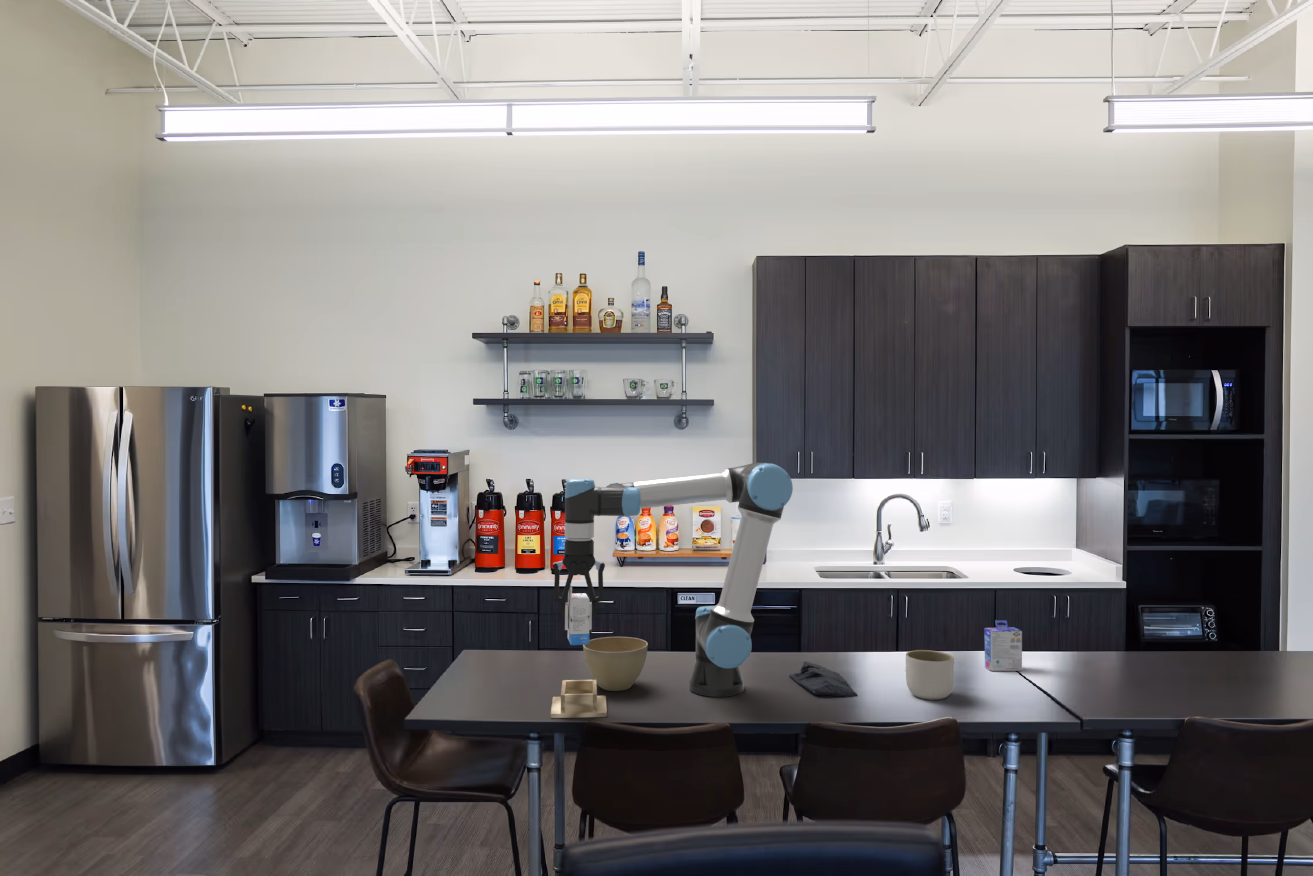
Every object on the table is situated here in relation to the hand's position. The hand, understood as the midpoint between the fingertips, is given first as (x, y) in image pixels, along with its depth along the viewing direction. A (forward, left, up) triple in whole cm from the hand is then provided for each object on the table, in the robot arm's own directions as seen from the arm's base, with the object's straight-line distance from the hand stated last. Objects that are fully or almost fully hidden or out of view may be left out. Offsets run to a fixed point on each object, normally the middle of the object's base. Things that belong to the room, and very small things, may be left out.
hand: (578, 628), depth 220 cm
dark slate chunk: (-69, -15, -21) cm, 74 cm away
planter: (-95, -4, -21) cm, 98 cm away
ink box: (0, 0, -3) cm, 3 cm away
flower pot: (-10, -18, -21) cm, 29 cm away
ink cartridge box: (-128, -28, -21) cm, 133 cm away
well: (0, 0, -21) cm, 21 cm away
